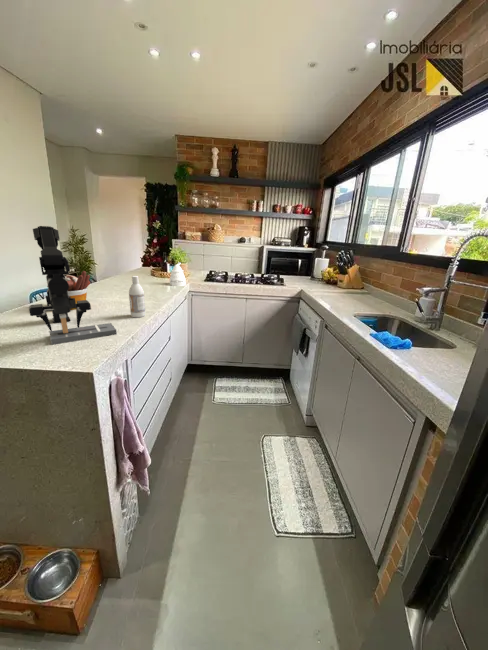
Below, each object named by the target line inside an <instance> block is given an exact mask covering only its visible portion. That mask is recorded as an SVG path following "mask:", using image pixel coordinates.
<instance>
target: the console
mask: <svg viewBox="0 0 488 650" xmlns="http://www.w3.org/2000/svg"><path fill="white" fill-rule="evenodd" d="M48 332H49V338H50V345H51V346H52V345H58V344H64V343H71V342H78V341H85V340H89V339H96V338H101V337H102V338H103V337H109V336H116V335H117V332H118V331H117V329H116V328H115V327H114V325H113V324H112V323H111V322H108V323H101V324H92V325H86V326H79V327H77V326H76V327H72V328H71V327H70V328H68V333H63V330H62V329H55V330H52V331H50V330H49V331H48Z"/></svg>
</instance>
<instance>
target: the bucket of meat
mask: <svg viewBox="0 0 488 650" xmlns="http://www.w3.org/2000/svg"><path fill="white" fill-rule="evenodd" d="M65 278H66V281H67V282H68V284H69V289H68V295H69V297H71V298H75V302H76V303H77V301H82V300H87V294H88V287H89V285H90V284H91V282H90V279H91V276H90V274H87V271H85V270H83V271H82V272H81V275H78V276H75V275H70V274H65ZM46 287H47V288H48V284H47V286H46ZM70 310H71V311H75V310H76V308H75V309H70Z"/></svg>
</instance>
